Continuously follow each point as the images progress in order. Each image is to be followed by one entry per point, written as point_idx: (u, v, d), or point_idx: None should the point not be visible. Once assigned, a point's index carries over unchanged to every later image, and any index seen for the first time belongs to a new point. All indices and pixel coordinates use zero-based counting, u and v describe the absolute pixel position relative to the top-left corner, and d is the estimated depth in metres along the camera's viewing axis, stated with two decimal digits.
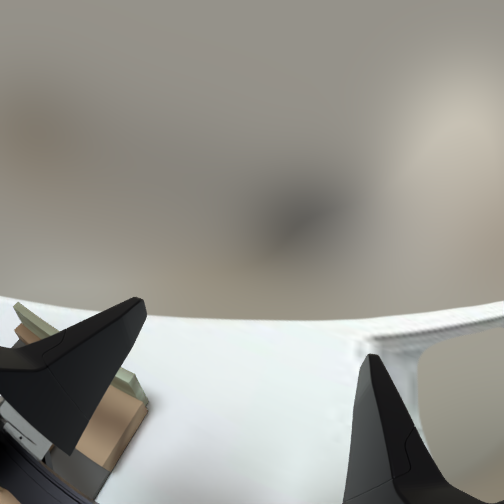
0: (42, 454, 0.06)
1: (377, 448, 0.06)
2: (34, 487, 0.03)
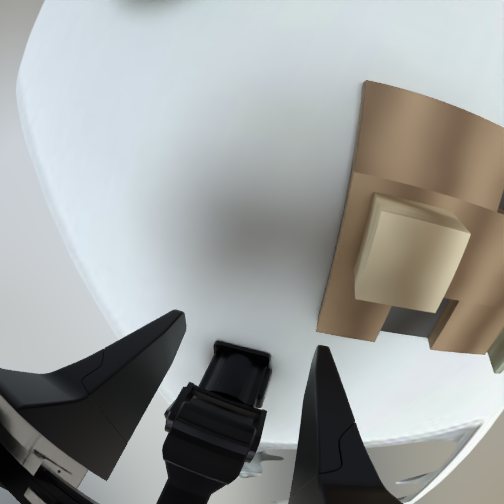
0: (79, 482, 0.06)
1: (312, 441, 0.06)
2: (34, 487, 0.03)
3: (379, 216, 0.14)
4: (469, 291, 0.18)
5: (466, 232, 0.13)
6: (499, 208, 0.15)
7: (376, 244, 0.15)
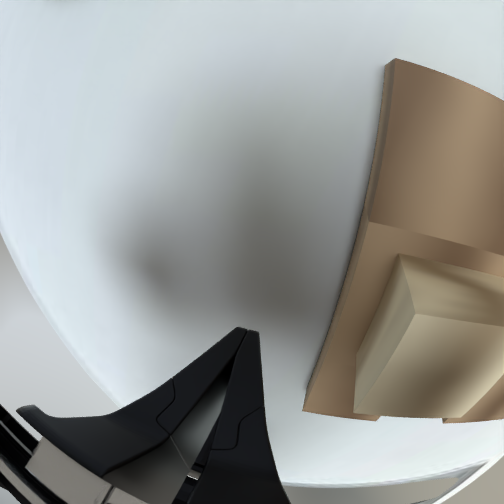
0: None
1: None
2: (34, 487, 0.03)
3: (410, 319, 0.07)
4: None
5: None
6: None
7: (397, 358, 0.08)
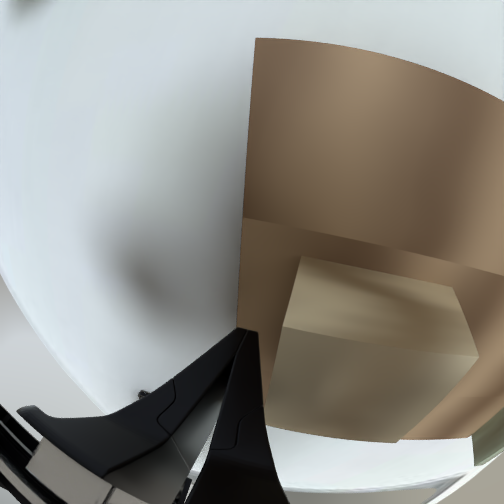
0: None
1: None
2: (34, 487, 0.03)
3: None
4: None
5: (470, 356, 0.06)
6: None
7: (280, 373, 0.08)
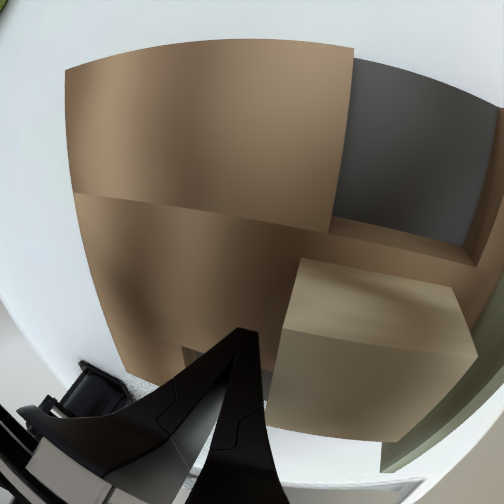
0: None
1: None
2: (34, 487, 0.03)
3: None
4: None
5: (469, 355, 0.06)
6: (361, 222, 0.10)
7: (281, 374, 0.08)
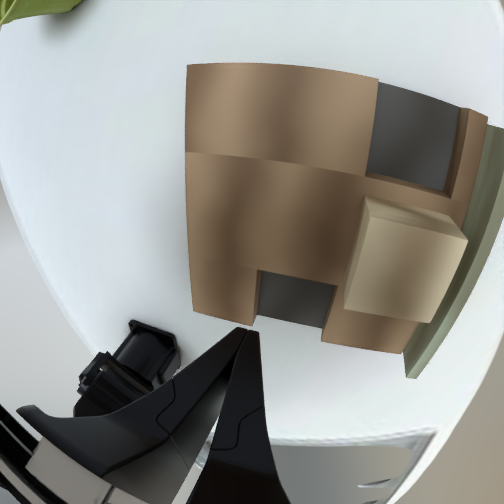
0: None
1: None
2: (34, 487, 0.03)
3: (368, 222, 0.13)
4: None
5: (463, 239, 0.12)
6: (380, 174, 0.16)
7: (365, 252, 0.14)
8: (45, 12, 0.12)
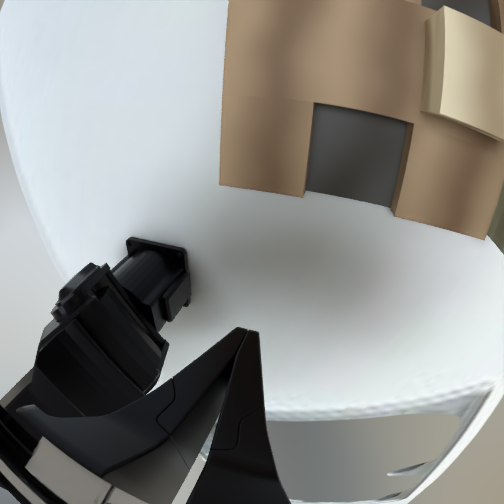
0: None
1: None
2: (34, 487, 0.03)
3: (443, 12, 0.07)
4: None
5: None
6: None
7: (449, 40, 0.08)
8: None
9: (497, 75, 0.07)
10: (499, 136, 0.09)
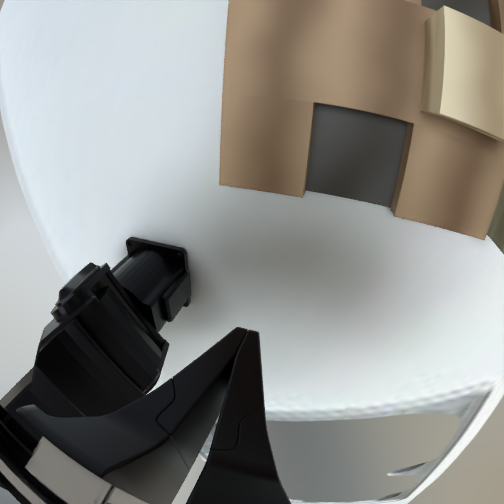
0: None
1: None
2: (34, 487, 0.03)
3: (443, 12, 0.07)
4: None
5: None
6: None
7: (449, 40, 0.08)
8: None
9: (497, 75, 0.07)
10: (499, 136, 0.09)
